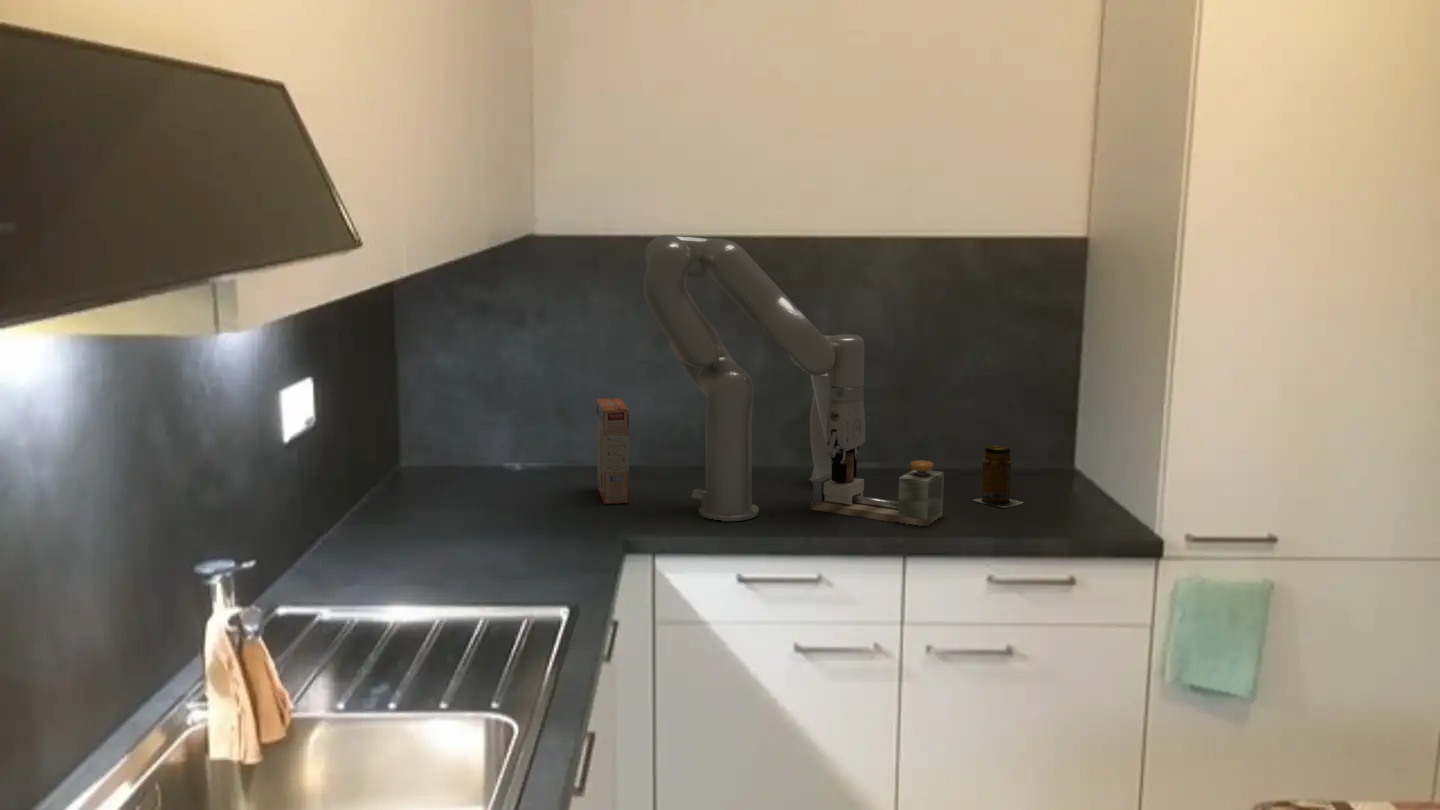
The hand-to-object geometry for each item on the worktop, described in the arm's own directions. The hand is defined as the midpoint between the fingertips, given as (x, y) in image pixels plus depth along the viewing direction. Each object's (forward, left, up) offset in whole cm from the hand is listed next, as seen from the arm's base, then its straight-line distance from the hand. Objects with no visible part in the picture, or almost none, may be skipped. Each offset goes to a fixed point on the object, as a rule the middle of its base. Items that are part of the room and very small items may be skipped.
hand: (844, 478), depth 269 cm
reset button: (+18, 0, +2) cm, 18 cm away
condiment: (+26, +21, -7) cm, 35 cm away
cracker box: (-48, -18, -7) cm, 51 cm away
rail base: (+7, 0, -6) cm, 10 cm away
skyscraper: (-13, +16, -7) cm, 22 cm away
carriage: (0, 0, -5) cm, 5 cm away
